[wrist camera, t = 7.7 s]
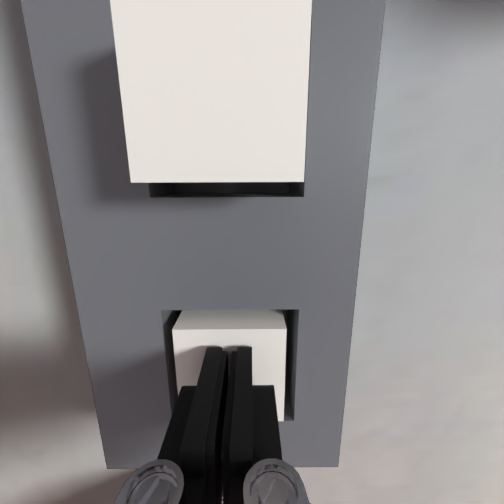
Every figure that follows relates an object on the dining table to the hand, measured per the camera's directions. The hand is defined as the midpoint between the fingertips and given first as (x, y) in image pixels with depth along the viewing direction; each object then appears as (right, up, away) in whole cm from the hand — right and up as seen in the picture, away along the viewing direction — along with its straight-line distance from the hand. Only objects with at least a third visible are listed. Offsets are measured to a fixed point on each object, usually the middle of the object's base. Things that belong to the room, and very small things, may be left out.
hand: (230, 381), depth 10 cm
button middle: (0, +9, -1) cm, 9 cm away
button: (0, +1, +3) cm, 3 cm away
